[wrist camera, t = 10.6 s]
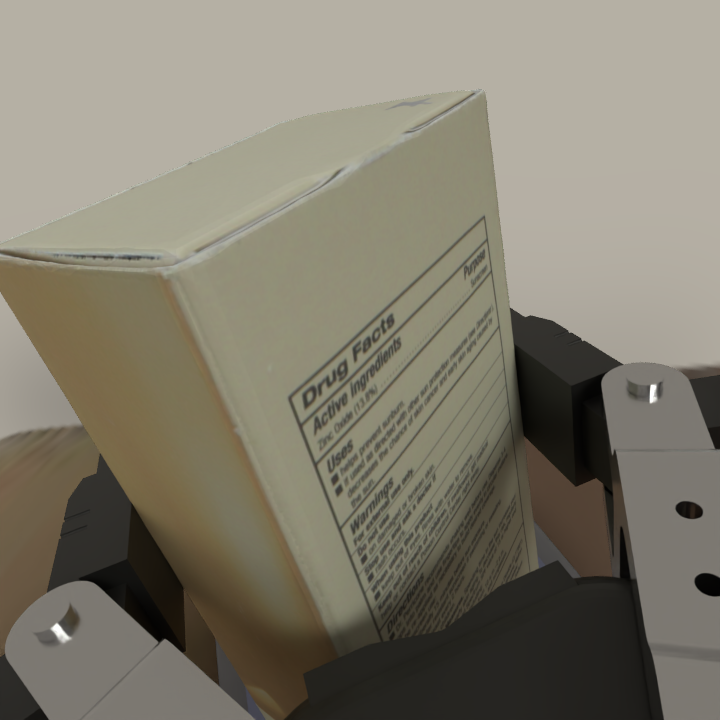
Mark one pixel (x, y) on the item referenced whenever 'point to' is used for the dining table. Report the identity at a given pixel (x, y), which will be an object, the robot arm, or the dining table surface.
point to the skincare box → (302, 377)
